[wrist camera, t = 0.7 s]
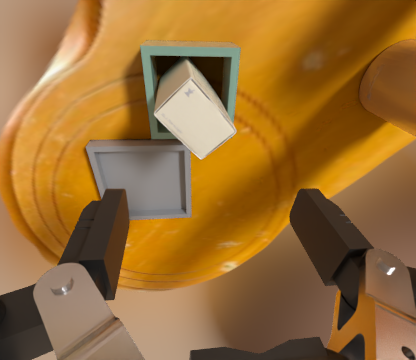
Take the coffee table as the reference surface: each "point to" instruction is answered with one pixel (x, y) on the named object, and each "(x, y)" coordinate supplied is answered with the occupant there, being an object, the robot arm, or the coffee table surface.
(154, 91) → the teal square open box
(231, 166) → the coffee table surface
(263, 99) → the coffee table surface
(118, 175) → the tray
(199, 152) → the skincare box
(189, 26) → the coffee table surface
